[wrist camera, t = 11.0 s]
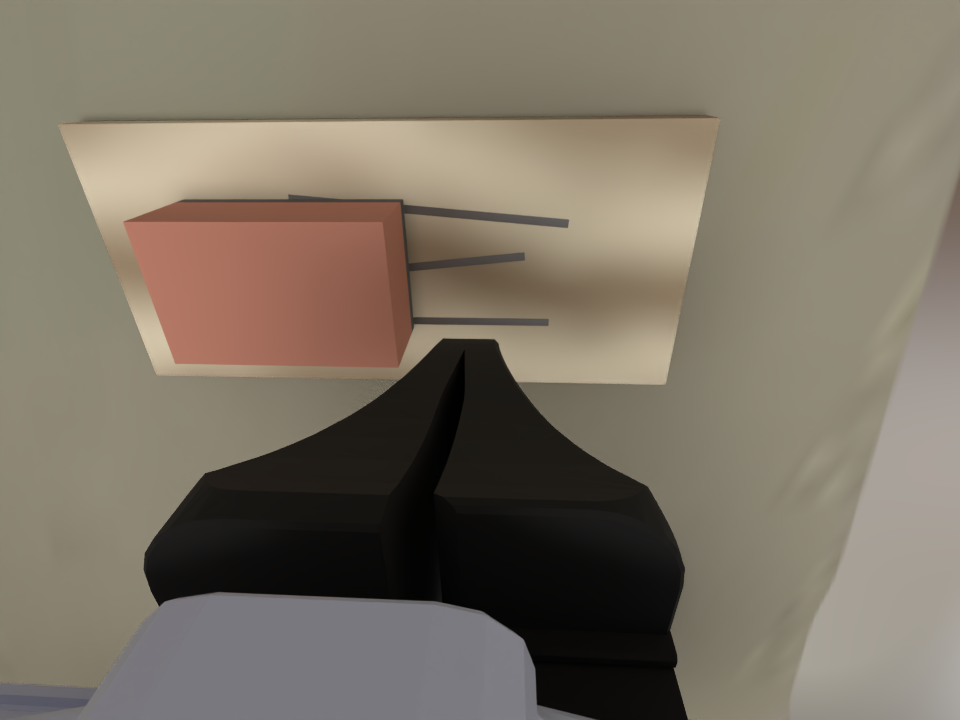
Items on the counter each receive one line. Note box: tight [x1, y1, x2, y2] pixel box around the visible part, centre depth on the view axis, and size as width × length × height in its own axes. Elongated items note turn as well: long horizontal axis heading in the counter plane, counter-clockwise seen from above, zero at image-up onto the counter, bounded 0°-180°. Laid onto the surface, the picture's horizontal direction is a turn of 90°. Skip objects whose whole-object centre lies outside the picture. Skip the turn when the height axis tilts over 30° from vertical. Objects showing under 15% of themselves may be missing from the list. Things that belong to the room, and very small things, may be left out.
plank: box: [58, 116, 720, 385], centre depth 19 cm, size 10×22×1 cm, turn 91°
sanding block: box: [123, 199, 414, 368], centre depth 17 cm, size 5×8×3 cm, turn 91°
